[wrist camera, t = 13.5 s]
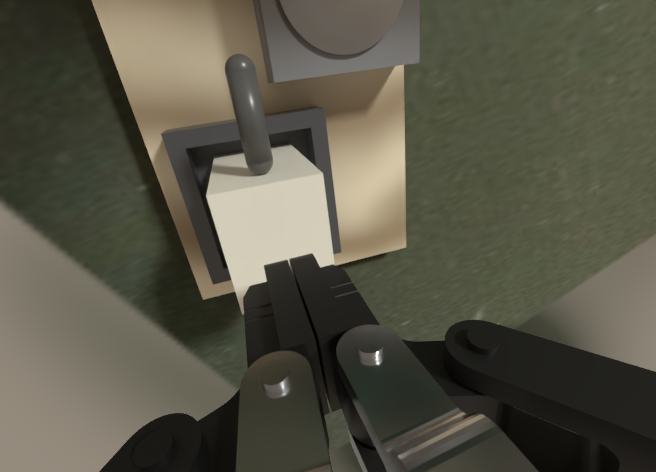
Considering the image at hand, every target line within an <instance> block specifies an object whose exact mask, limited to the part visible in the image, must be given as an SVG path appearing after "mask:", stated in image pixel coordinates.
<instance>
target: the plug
mask: <svg viewBox="0 0 656 472" xmlns="http://www.w3.org/2000/svg"><path fill="white" fill-rule="evenodd" d="M225 75H226V79H227V83H228V87H229V92H230V96H231V100H232V105H233V109H234V113H235V117H236V122H237V126H238V130H239V134H240V139H241V143H242V147H243V151H242V152H236V153H230V154H224V155H219V156H214V160H213V165H212V170H211V174H210V179H209V184H208V189H207V194H206V197H207V201H208V204H209V207H210V211H211V214H212V217H213V220H214V224H215V227H216V230H217V233H218V237H219V240H220V243H221V247H222V250H223V253H224V256H225V260H226V263H227V266H228V269H229V273H230V276H231V279H232V283H233V286H234V289H235V292H236V296H237V299H238V302H239V305H240V309H241V312H242V315H243V314H244V306H243V297H244V296H245V294H246V292H247V290H248V288H249V286H252V285H256V284H259V283H263V282H267V279H266V275H265V270H264V265H267V264H271V263H275V262H279V261H283V260H288V262H289V259H291V258H295V257H299V256H303V255H307V254H311V253H313V255H314V257H315V259H316V260H317V262H318V264H319V266H320V268H321V267H325V266H328V265H332V264H333V265H335V263H334V255H333V247H332V239H331V232H330V224H329V216H328V208H327V200H326V192H325V185H324V177H323V173H322V172H321V171H320V170H319V169H318V168H317V167H316V166H314V165H313V164H312V163H311V162H310V161H309V160H308V159H307V158H306V157H304V156H303V155H302V154H301V153H300V152H299V151H298V150H297V149H295V148H294V147H293V146H292V145H291V144H290V143H288V144H283V145H277V146H270V141H269V136H268V130H267V125H266V120H265V115H264V110H263V105H262V100H261V95H260V90H259V84H258V79H257V74H256V69H255V66H254V64H253V62H252V61H251V59H250V58H249V57H247V56H245V55H243V54H234V55H232V56H230V57H229V58H228V59H227V61H226V63H225ZM289 265H290V262H289ZM290 268H291V267H290Z"/></svg>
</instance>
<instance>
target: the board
mask: <svg viewBox="0 0 656 472" xmlns="http://www.w3.org/2000/svg"><path fill="white" fill-rule="evenodd" d="M92 3H93V6H94V9H95V11H96V14H97V17H98V19H99V22H100V25H101V27H102V30H103V33H104V35H105V38H106V41H107V43H108V46H109V49H110V51H111V54H112V57H113V60H114V62H115V65H116V68H117V70H118V73H119V76H120V78H121V81H122V84H123V86H124V89H125V92H126V94H127V97H128V100H129V102H130V105H131V108H132V111H133V113H134V116H135V119H136V121H137V124H138V127H139V129H140V132H141V135H142V137H143V140H144V143H145V145H146V148H147V151H148V153H149V156H150V159H151V162H152V164H153V167H154V170H155V172H156V175H157V178H158V180H159V183H160V186H161V188H162V191H163V194H164V196H165V199H166V202H167V204H168V207H169V210H170V213H171V215H172V218H173V221H174V223H175V226H176V229H177V231H178V234H179V237H180V239H181V242H182V245H183V247H184V250H185V253H186V255H187V258H188V261H189V264H190V266H191V269H192V272H193V274H194V277H195V280H196V282H197V285H198V288H199V290H200V293H201V296H202V298H203V300H205V299H208V298H212V297H216V296H220V295H224V294H228V293H232V292H235V289H234V286H233V283H232V280H230V281H226V282H222V283H218V284H214V285H213V283H212V280H211V278H210V275H209V272H208V269H207V266H206V263H205V260H204V257H203V254H202V252H201V249H200V246H199V243H198V240H197V237H196V234H195V231H194V228H193V226H192V223H191V220H190V217H189V214H188V211H187V208H186V205H185V202H184V200H183V197H182V194H181V191H180V188H179V185H178V182H177V179H176V176H175V174H174V171H173V168H172V165H171V162H170V159H169V156H168V153H167V150H166V147H165V145H164V142H163V139H162V136H161V133H163V132H164V131H166V130H167V129H174V128H180V127H186V126H193V125H199V124H206V123H212V122H218V121H225V120H231V119H236V117H235V113H234V109H233V105H232V100H231V96H230V92H229V87H228V83H227V79H226V75H225V63H226V61H227V59H228V58H229V57H230V56H232V55H234V54H243V55H245V56H247V57H249V58H250V59H251V61H252V62H253V64H254V66H255V69H256V74H257V79H258V84H259V90H260V95H261V100H262V105H263V110H264V114H270V113H276V112H283V111H289V110H295V109H302V108H308V107H315V106H317V107H322V108H324V109H325V117H326V126H327V134H328V143H329V151H330V159H331V168H332V176H333V185H334V193H335V202H336V210H337V218H338V227H339V235H340V244H341V253H337V254H333V255H334V263H335V266H336V265H340V264H344V263H347V262H351V261H355V260H359V259H363V258H367V257H371V256H374V255H378V254H382V253H386V252H390V251H394V250H398V249H402V248H405V247H406V195H405V121H404V65H407V64H414V63H419V36H420V0H92Z"/></svg>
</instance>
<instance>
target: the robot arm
mask: <svg viewBox="0 0 656 472" xmlns="http://www.w3.org/2000/svg"><path fill="white" fill-rule="evenodd" d="M289 262H290V265H289ZM289 262H288V260H283V261H279V262H275V263H271V264H267V265H264V270H265V275H266V279H267V282H263V283H259V284H256V285H252V286H249V288H248V290H247V292H246V294H245V296H244V297H243V306H244V320H245V334H246V348H247V362H248V369H247V371H246V372H245V374H244V376H243V378H242V380H241V385H240V389H239V390H238V392H237V393H236V394H235V395H234V396H233V397H232V398H231V399H230V400H229V401H228V402H227V403H225V404H224V405H222V406H221V407H220V408H218V409H216V410H215V411H213V412H212V413H210V414H208V415H207V416H205V417H204V418H202V419H201V420H199V421H196V420H195V419H194V418H193V417H191V416H189V415H187V414H183V413H174V414H168V415H165V416H162V417H160V418H157V419H155V420H153V421H151V422H150V423H148V424H146V425H145V426H143V427H142V428H141V429H139V430H138V431H137V432H136V433H135V434H134V435H133V436H132V437H131V438H130V439H129V440H128V441H127V442H126V443H125V444H124V445H123V446H122V447H121V449H120V450H119V451H118V452H117V453H116V454H115V455H114V456H113V457H112V459H110V461H109V462H108V463H107V464H106V465H105V466H104V467H103V468H102V469H101V471H100V472H333V471H332V466H331V461H330V456H329V451H328V450H329V437H328V432H327V427H326V422H325V417H324V415H325V414H328V413H329V408H328V403H327V398H328V401H329V404H330V407H331V410H332V412H333V411H336V410H339V409H341V408H342V411H343V414H344V416H345V419H346V422H347V425H348V431H349V438H350V441H351V444H352V447H353V449H354V451H355V453H356V455H357V458H358V460H359V463H360V465H361V467H362V470H363V472H656V372H654V371H650V370H647V369H644V368H640V367H637V366H634V365H631V364H627V363H624V362H621V361H617V360H614V359H611V358H607V357H604V356H600V355H597V354H594V353H590V352H587V351H584V350H581V349H577V348H574V347H571V346H567V345H564V344H561V343H557V342H554V341H551V340H547V339H544V338H541V337H537V336H534V335H531V334H527V333H524V332H520V331H517V330H514V329H511V328H507V327H504V326H501V325H497V324H494V323H491V322H487V321H481V320H465V321H461V322H458V323H456V324H454V325H452V326H451V327H450V328H449V329H448V331H447V332H446V335H445V341H425V342H413V341H406V340H402V339H401V338H400V337H399V336H398V335H397V334H396V333H395V332H393V331H392V330H390V329H388V328H386V327H383V326H380V325H379V323H378V321H377V320H376V318H375V317H374V315H373V314H372V312H371V311H370V309H369V307H368V306H367V304H366V303H365V301H364V300H363V298H362V297H361V295H360V294H359V292H357V289H356V287H355V286H354V284H353V283H352V281H351V280H350V278H349V276H348V275H347V273H346V272H345V271H344V270H342V269H340V268H339V267H337V266H335V265H333V264H332V265H328V266H325V267H321V268H320V266H319V264H318V262H317V260H316V259H315V257H314V255H313V253H311V254H307V255H303V256H299V257H295V258H291V259H289ZM290 267H291V268H290ZM325 391H326V392H325ZM326 395H327V398H326ZM514 407H515V408H514ZM516 408H518V409H516ZM519 409H520V410H519ZM521 410H522V411H521ZM523 411H525V412H523ZM526 412H527V413H526ZM528 413H530V414H528ZM531 414H532V415H531ZM533 415H534V416H533ZM535 416H537V417H535ZM538 417H539V418H538ZM540 418H541V419H540ZM542 419H544V420H542ZM545 420H546V421H545ZM547 421H549V422H551V423H549V422H547ZM552 423H553V424H552ZM554 424H556V425H554ZM557 425H558V426H557ZM559 426H561V427H563V428H565V429H563V428H561V427H559ZM566 429H568V430H570V431H568V430H566ZM571 431H572V432H571ZM573 432H575V433H573ZM576 433H577V434H576ZM578 434H579V435H578Z"/></svg>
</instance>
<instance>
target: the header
mask: <svg viewBox="0 0 656 472" xmlns="http://www.w3.org/2000/svg"><path fill="white" fill-rule="evenodd" d="M264 115H265V120H266V125H267V130H268V136H269V141H270V146H277V145H283V144H288V143H290V144H291V145H292V146H293V147H294V148H295V149H297V150H298V151H299V152H300V153H301V154H302V155H303V156H304V157H306V158H307V159H308V160H309V161H310V162H311V163H312V164H313V165H314V166H316V167H317V168H318V169H319V170H320V171H321V172H322V173H323V177H324V185H325V192H326V200H327V208H328V216H329V224H330V232H331V239H332V247H333V254H337V253H341V244H340V235H339V227H338V218H337V210H336V202H335V193H334V185H333V176H332V168H331V159H330V151H329V143H328V134H327V126H326V117H325V109H324V108H322V107H317V106H315V107H308V108H302V109H295V110H289V111H283V112H276V113H270V114H264ZM161 136H162V139H163V142H164V145H165V147H166V150H167V153H168V156H169V159H170V162H171V165H172V168H173V171H174V174H175V176H176V179H177V182H178V185H179V188H180V191H181V194H182V197H183V200H184V202H185V205H186V208H187V211H188V214H189V217H190V220H191V223H192V226H193V228H194V231H195V234H196V237H197V240H198V243H199V246H200V249H201V252H202V254H203V257H204V260H205V263H206V266H207V269H208V272H209V275H210V278H211V280H212V283H213V285H214V284H218V283H222V282H226V281H230V280H232V279H231V276H230V273H229V269H228V266H227V263H226V260H225V256H224V253H223V250H222V247H221V243H220V240H219V237H218V233H217V230H216V227H215V224H214V220H213V217H212V214H211V211H210V207H209V204H208V201H207V197H206V194H207V189H208V184H209V179H210V174H211V170H212V165H213V160H214V156H219V155H224V154H230V153H236V152H242V151H243V147H242V143H241V139H240V134H239V130H238V126H237V122H236V119H231V120H225V121H218V122H212V123H206V124H199V125H193V126H186V127H180V128H174V129H167V130H166V131H164V132H163V133H161Z"/></svg>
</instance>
